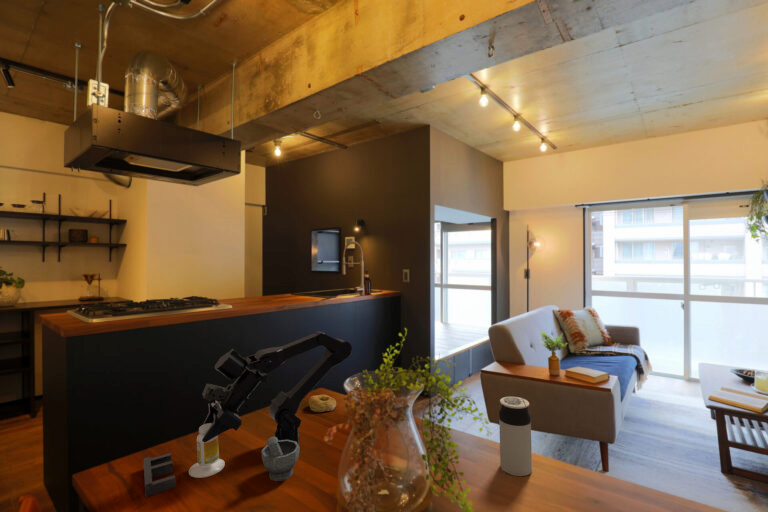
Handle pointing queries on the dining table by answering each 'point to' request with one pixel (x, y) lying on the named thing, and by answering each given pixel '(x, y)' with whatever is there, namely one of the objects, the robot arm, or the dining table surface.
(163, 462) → the rail
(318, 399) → the bagel
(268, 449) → the mortar and pestle
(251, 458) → the dining table surface
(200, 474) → the coaster
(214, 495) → the dining table surface
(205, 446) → the supplement bottle
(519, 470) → the travel mug
